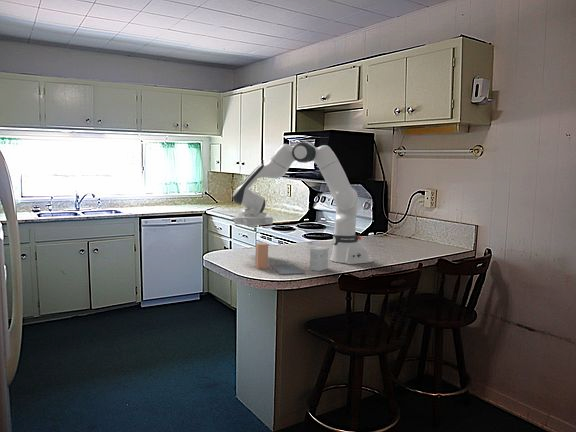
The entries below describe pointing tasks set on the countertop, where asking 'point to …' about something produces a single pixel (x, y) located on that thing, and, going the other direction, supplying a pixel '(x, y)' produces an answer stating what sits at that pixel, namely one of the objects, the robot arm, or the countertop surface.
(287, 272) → the mat
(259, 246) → the terracotta block
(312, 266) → the small box
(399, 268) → the countertop surface
